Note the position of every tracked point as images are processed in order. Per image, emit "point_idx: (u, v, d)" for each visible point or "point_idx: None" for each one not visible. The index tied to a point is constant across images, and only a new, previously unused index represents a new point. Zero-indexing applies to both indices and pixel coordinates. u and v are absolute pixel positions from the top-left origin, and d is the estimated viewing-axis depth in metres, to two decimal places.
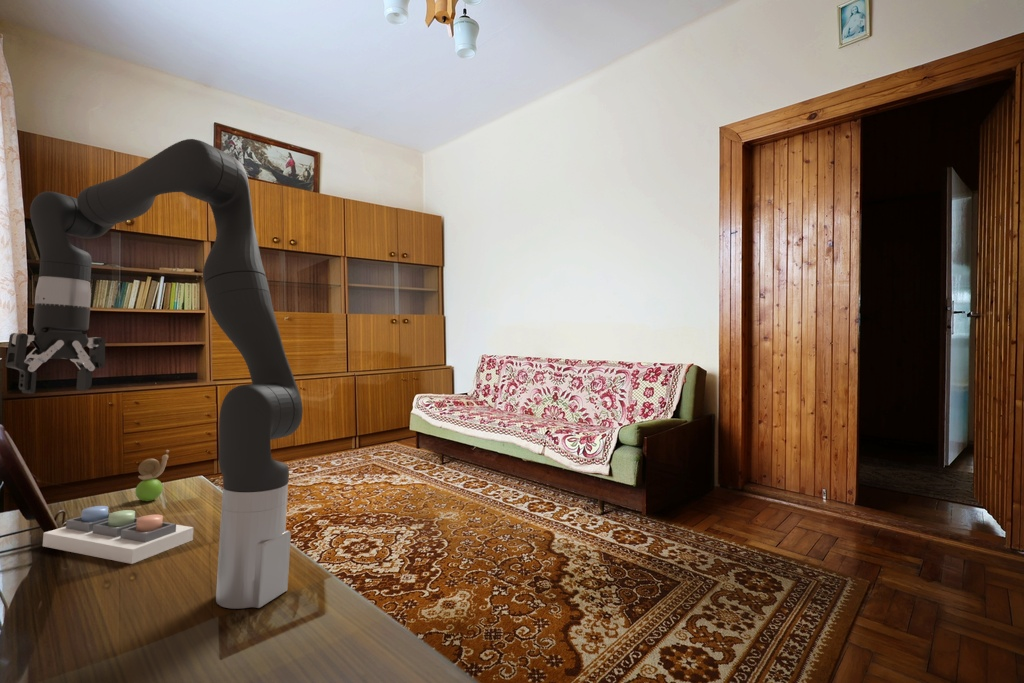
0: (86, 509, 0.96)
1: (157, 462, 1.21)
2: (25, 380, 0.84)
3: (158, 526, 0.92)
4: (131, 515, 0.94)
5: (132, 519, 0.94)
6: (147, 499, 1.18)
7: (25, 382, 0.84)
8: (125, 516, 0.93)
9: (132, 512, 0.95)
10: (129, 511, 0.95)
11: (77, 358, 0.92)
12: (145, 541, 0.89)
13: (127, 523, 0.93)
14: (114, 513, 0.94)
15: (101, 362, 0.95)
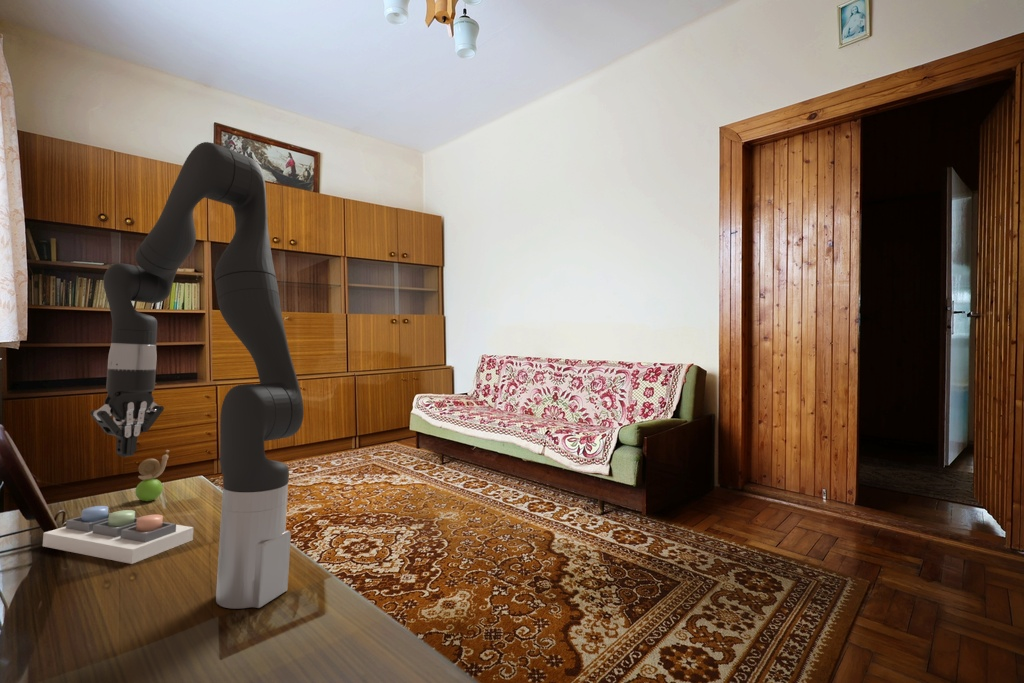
0: (86, 509, 0.96)
1: (157, 462, 1.21)
2: (122, 445, 0.93)
3: (158, 526, 0.92)
4: (131, 515, 0.94)
5: (132, 519, 0.94)
6: (147, 499, 1.18)
7: (122, 447, 0.93)
8: (125, 516, 0.93)
9: (132, 512, 0.95)
10: (129, 511, 0.95)
11: None
12: (145, 541, 0.89)
13: (127, 523, 0.93)
14: (114, 513, 0.94)
15: (145, 426, 0.97)
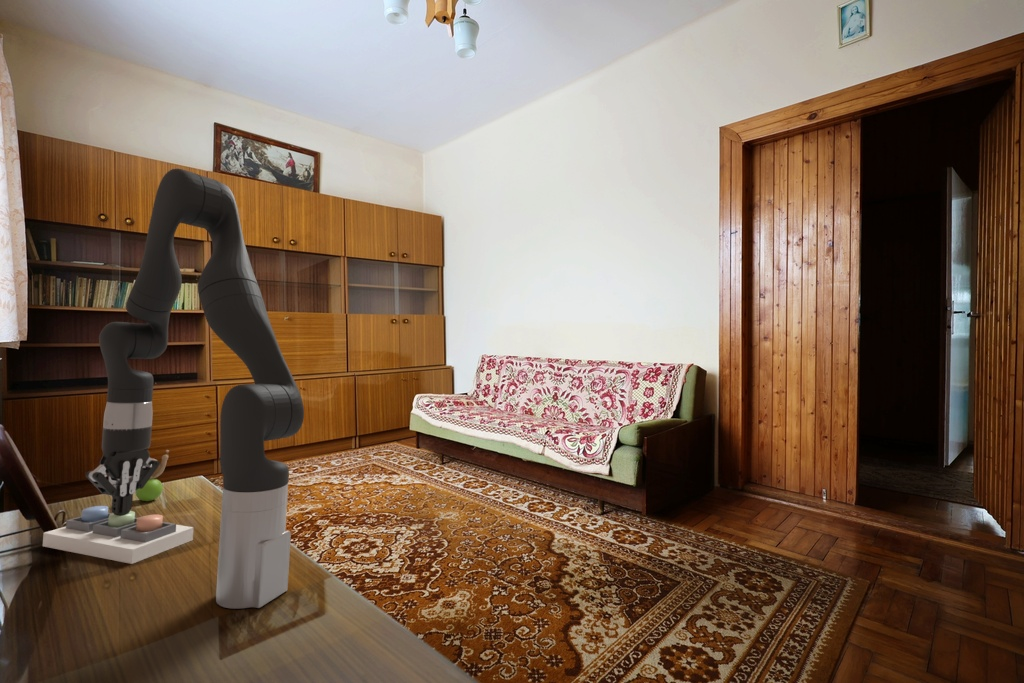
0: (86, 509, 0.96)
1: None
2: (117, 504, 0.93)
3: (158, 526, 0.92)
4: (131, 516, 0.94)
5: (132, 520, 0.94)
6: (147, 499, 1.18)
7: (117, 506, 0.93)
8: (125, 517, 0.93)
9: (132, 513, 0.95)
10: (129, 512, 0.95)
11: None
12: (145, 541, 0.89)
13: (127, 524, 0.93)
14: None
15: (141, 483, 0.97)
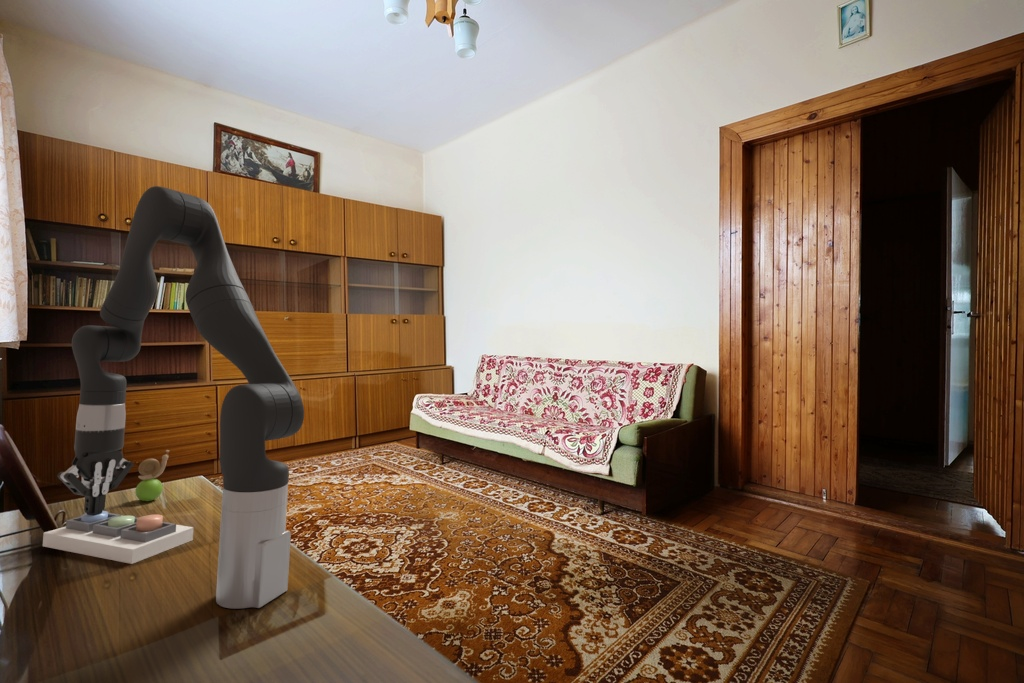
0: (86, 514, 0.96)
1: (157, 462, 1.21)
2: (90, 504, 0.95)
3: (158, 526, 0.92)
4: (131, 520, 0.94)
5: None
6: (147, 499, 1.18)
7: (90, 506, 0.95)
8: (125, 521, 0.93)
9: (132, 517, 0.95)
10: (129, 516, 0.95)
11: (101, 478, 0.97)
12: (145, 541, 0.89)
13: None
14: (114, 518, 0.94)
15: (114, 483, 0.98)
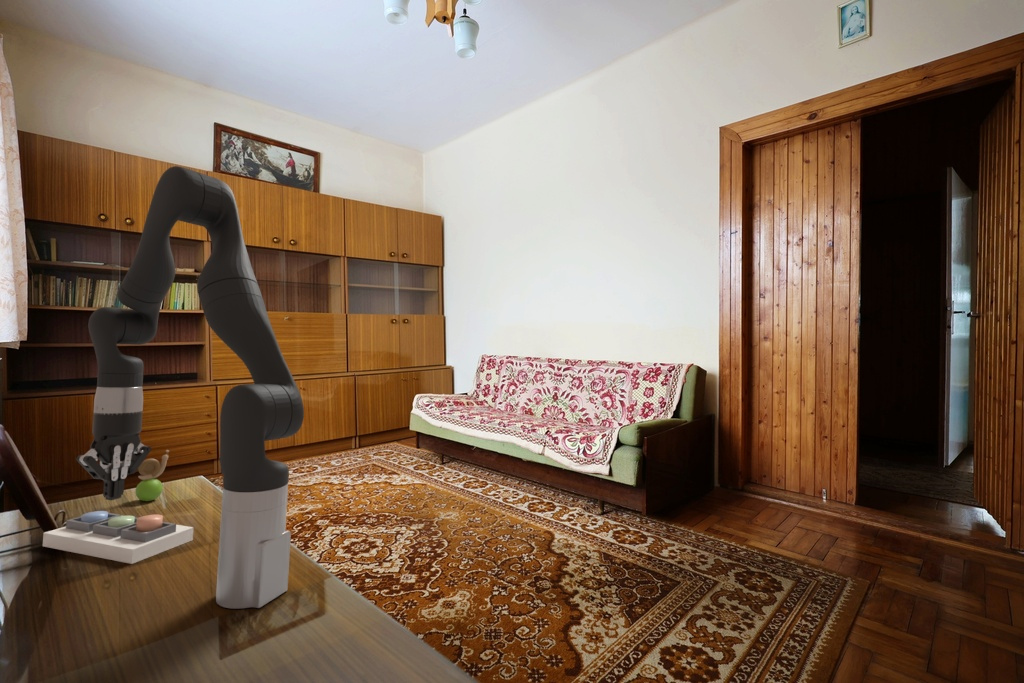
0: (86, 514, 0.96)
1: (157, 462, 1.21)
2: (109, 489, 0.93)
3: (158, 526, 0.92)
4: (131, 520, 0.94)
5: None
6: (147, 499, 1.18)
7: (109, 490, 0.93)
8: (125, 521, 0.93)
9: (132, 517, 0.95)
10: (129, 516, 0.95)
11: None
12: (145, 541, 0.89)
13: None
14: (114, 518, 0.94)
15: (132, 468, 0.97)
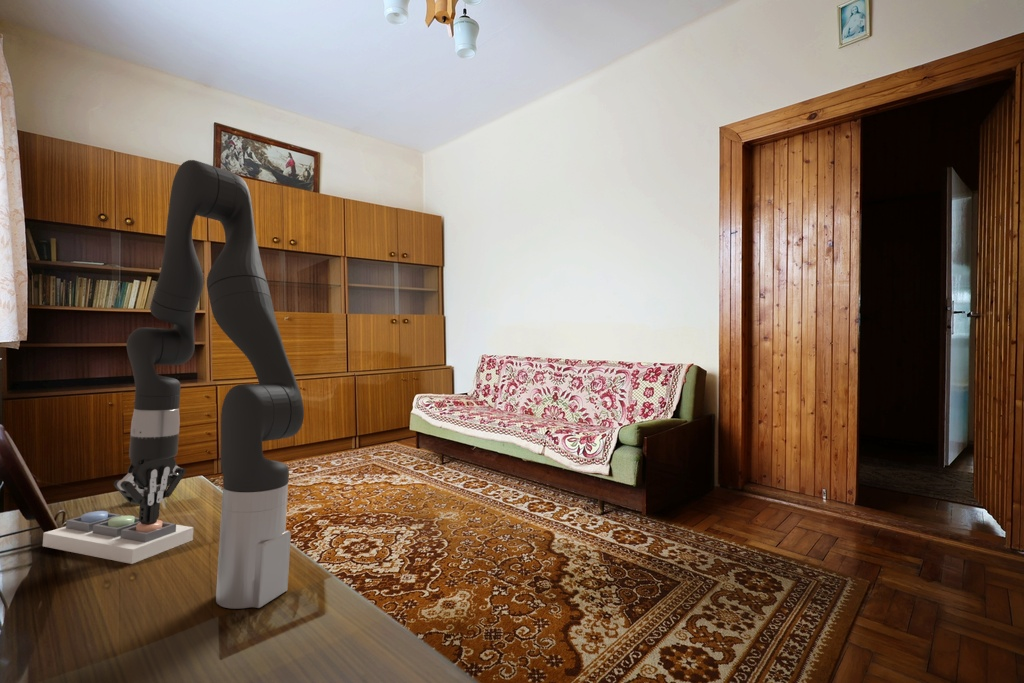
0: (86, 514, 0.96)
1: None
2: (145, 513, 0.91)
3: None
4: (131, 520, 0.94)
5: None
6: None
7: (145, 515, 0.91)
8: (125, 521, 0.93)
9: (132, 517, 0.95)
10: (129, 516, 0.95)
11: None
12: (145, 541, 0.89)
13: None
14: (114, 518, 0.94)
15: (168, 491, 0.95)
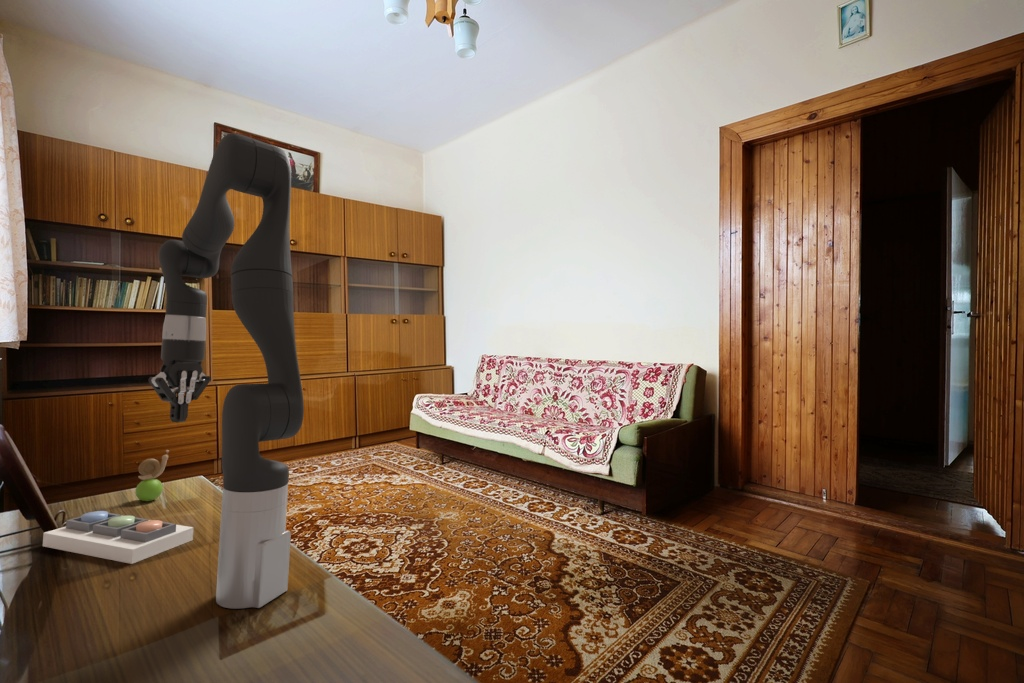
0: (86, 514, 0.96)
1: (157, 462, 1.21)
2: (176, 411, 0.99)
3: None
4: (131, 520, 0.94)
5: None
6: (147, 499, 1.18)
7: (176, 413, 0.99)
8: (125, 521, 0.93)
9: (132, 517, 0.95)
10: (129, 516, 0.95)
11: None
12: (145, 541, 0.89)
13: None
14: (114, 518, 0.94)
15: (195, 394, 1.03)
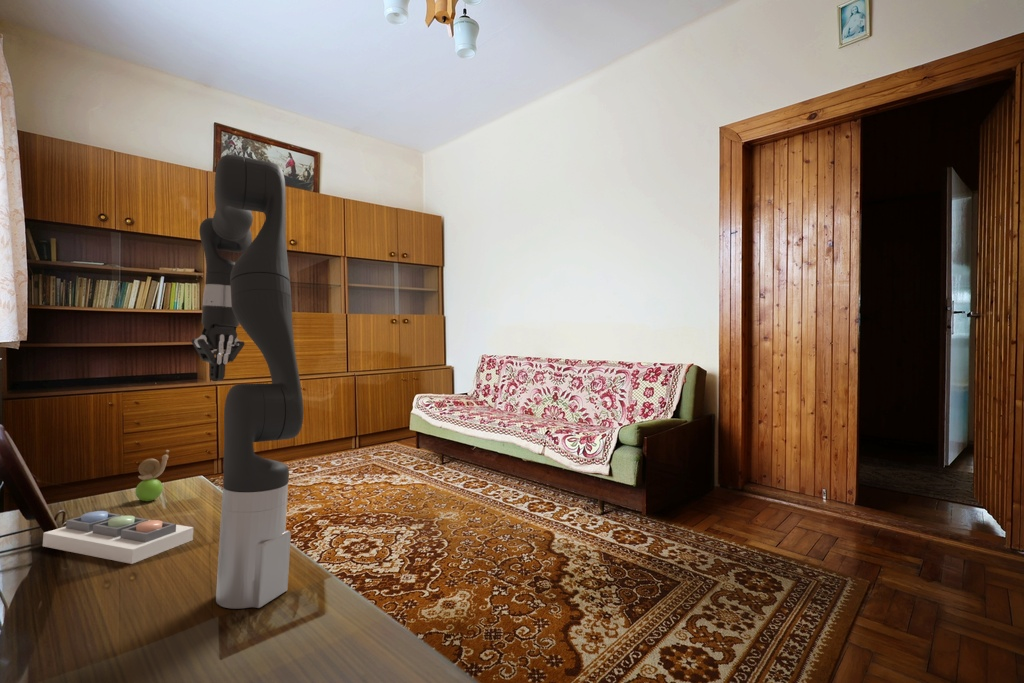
0: (86, 514, 0.96)
1: (157, 462, 1.21)
2: (215, 370, 1.11)
3: None
4: (131, 520, 0.94)
5: None
6: (147, 499, 1.18)
7: (215, 372, 1.11)
8: (125, 521, 0.93)
9: (132, 517, 0.95)
10: (129, 516, 0.95)
11: None
12: (145, 541, 0.89)
13: None
14: (114, 518, 0.94)
15: (231, 357, 1.14)
